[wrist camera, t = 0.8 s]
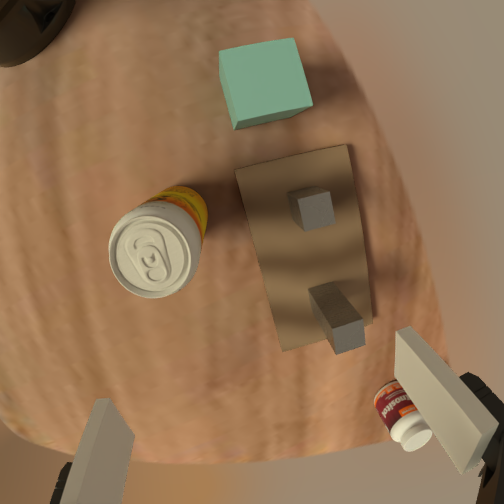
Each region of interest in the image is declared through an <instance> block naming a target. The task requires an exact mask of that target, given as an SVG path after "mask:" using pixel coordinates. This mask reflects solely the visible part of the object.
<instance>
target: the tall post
mask: <svg viewBox="0 0 504 504" xmlns="http://www.w3.org/2000/svg"><path fill="white" fill-rule="evenodd" d="M308 294H309V299H310V304H311V309H312V312H313V314H314V316H315V318H316V320H317V321H318V323H319V325H320V327H321V329H322V330H323V332H324V334H325V336H326V338H327V339H328V341H329V343H330V345H331V347H332V349H333V350H334V352H335V354H336V355H337V354H340V353H343V352H346V351H349V350H352V349H355V348H358V347H361V346H364V345H365V333H364V322H363V318H362V317H361V315H360V314H359V313H358V312H357V311H356V309H355V308H354V307H353V306H352V304H351V303H350V302H349V301H348V300H347V298H346V297H345V296H344V295H343V293H342V292H341V291H340V290H339V289H338V287H337V286H336V285H335V284H334V283H333V281H332V282H329V283H325V284H322V285H318V286H315V287H312V288H308Z"/></svg>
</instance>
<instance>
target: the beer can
mask: <svg viewBox="0 0 504 504" xmlns="http://www.w3.org/2000/svg"><path fill="white" fill-rule="evenodd" d="M207 220H208V210H207V206H206V204H205V202H204V200H203V198H202V197H201V196H200V195H199V194H198V193H197V192H196V191H194V190H192V189H190V188H188V187H184V186H173V187H170V188H167V189H165V190H163V191H162V192H160V193H158V194H157V195H155V196H154V197H152V198H150V199H149V200H147V201H146V202H144V203H142V204H141V205H139V206H138V207H136V208H135V209H133V210H132V211H130V212H129V213H127V214H126V215H124V216H123V217H122V218H121V219H120V220H119V221H118V223H117V224H116V225H115V227H114V229H113V231H112V234H111V237H110V241H109V261H110V265H111V268H112V271H113V273H114V275H115V277H116V278H117V280H118V281H119V282H120V283H121V284H122V286H124V287H125V288H126V289H127V290H129V291H130V292H132V293H134V294H136V295H138V296H141V297H146V298H161V297H165V296H168V295H170V294H173V293H175V292H177V291H179V290H181V289H182V288H184V287H185V286H186V285H187V284H188V283H189V282H190V281H191V279H192V278H193V276H194V274H195V272H196V270H197V267H198V263H199V258H200V253H201V249H202V244H203V239H204V234H205V230H206V225H207Z"/></svg>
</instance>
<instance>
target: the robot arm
mask: <svg viewBox="0 0 504 504" xmlns="http://www.w3.org/2000/svg"><path fill="white" fill-rule="evenodd" d="M74 4H75V0H0V67H12V66H16V65H19V64H21V63H23V62H25V61H27V60H29V59H31V58H32V57H34V56H35V55H36V54H38V53H39V52H40V51H41V50H43V49H44V48H45V47H46V46H47V45H48V44H49V43H50V42H51V41H52V40H53V39H54V37H55V36H56V35H57V34H58V33H59V31H60V30H61V29H62V27H63V26H64V24H65V23H66V21H67V19H68V17H69V16H70V13H71V11H72V9H73V7H74ZM394 376H395V378H396V379H397V380H398V382H399V383H400V385H401V386H402V388H403V389H404V390H405V392H406V393H407V395H408V396H409V398H410V399H411V401H412V402H413V403H414V405H415V406H416V408H417V409H418V411H419V412H420V414H421V415H422V417H423V418H424V420H425V421H426V422H427V424H428V425H429V427H430V428H431V430H432V431H433V433H434V434H435V436H436V437H437V439H438V440H439V442H440V443H441V445H442V446H443V448H444V449H445V451H446V453H447V454H448V456H449V457H450V458H451V460H452V462H453V463H454V465H455V466H456V468H457V470H458V471H459V473H460V474H461V475H463V474H464V473H466V472H468V471H470V470H471V469H473V468H474V467H476V466H477V465H478V463H479V462H480V460H481V458H482V459H483V460H484V462H485V465H484V466H483V468H482V469H481V471H480V473H479V476H478V477H480V476H481V475H482V479H481V484H480V488H479V493H478V497H477V501H476V504H504V404H503V402H502V401H501V400H500V399H499V398H498V397H497V396H496V395H495V394H494V393H492V391H491V389H490V388H489V387H488V386H486V384H485V383H484V382H483V381H482V380H481V379H480V378H479V377H478V376H476V375H473V374H471V373H469V372H467V373H465V374H464V375H462V376H460V377H458V376H457V375H456V374H455V373H454V371H453V370H452V369H451V368H450V367H449V366H448V365H447V364H446V363H445V362H444V361H443V360H442V359H441V357H440V356H439V355H438V354H437V353H436V352H435V351H434V350H433V349H432V348H431V347H430V346H429V345H428V344H427V343H426V342H425V341H424V339H423V338H422V337H421V336H420V335H419V334H418V333H417V332H416V331H415V330H414V329H413V328H412V327H411V326H408V327H406V328H403V329H401V330H398V331H396V347H395V372H394ZM134 438H135V435H134V433H133V432H132V430H131V429H130V428H129V426H128V425H127V423H126V422H125V420H124V419H123V417H122V416H121V414H120V413H119V411H118V410H117V408H116V407H115V405H114V404H113V402H112V401H111V399H110V398H103V399H96V401H95V404H94V406H93V409H92V411H91V414H90V417H89V419H88V422H87V424H86V427H85V430H84V433H83V435H82V438H81V441H80V443H79V446H78V449H77V452H76V455H75V458H74V461H73V463H71V462H67V464H66V465H65V466H64V467H63V468H62V470H61V472H60V474H59V477H58V482H57V483H56V486H55V488H56V489H54V492H53V495H52V498H51V501H50V504H121V503H122V497H123V492H124V487H125V481H126V476H127V471H128V466H129V461H130V456H131V451H132V447H133V442H134Z"/></svg>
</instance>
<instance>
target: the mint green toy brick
mask: <svg viewBox="0 0 504 504" xmlns="http://www.w3.org/2000/svg"><path fill="white" fill-rule="evenodd" d="M219 76H220V81H221V84H222V88H223V92H224V95H225V99H226V103H227V107H228V110H229V114H230V118H231V121H232V125H233V129H234V130H237V129H241V128H245V127H249V126H254V125H258V124H262V123H267V122H271V121H276V120H280V119H285V118H290V117H292V116H294V115H296V114H298V113H300V112H302V111H303V110H305V109H307V108H309V107H311V106H313V103H312V99H311V95H310V91H309V88H308V84H307V81H306V77H305V74H304V70H303V67H302V63H301V60H300V57H299V54H298V50H297V47H296V44H295V41H294V38H287V39H280V40H274V41H267V42H262V43H256V44H250V45H245V46H240V47H236V48H231V49H226V50H222V51H219Z"/></svg>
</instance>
